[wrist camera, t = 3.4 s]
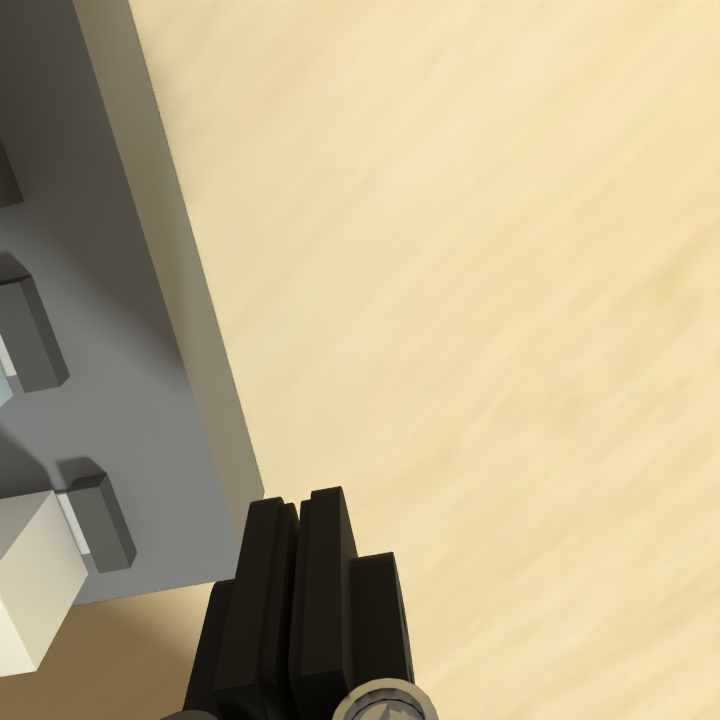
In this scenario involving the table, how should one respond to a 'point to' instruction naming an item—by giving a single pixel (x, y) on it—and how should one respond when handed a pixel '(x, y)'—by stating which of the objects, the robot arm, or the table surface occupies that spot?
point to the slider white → (34, 578)
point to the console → (110, 314)
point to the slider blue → (4, 388)
